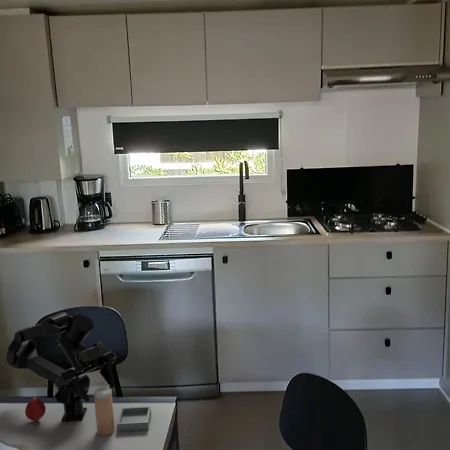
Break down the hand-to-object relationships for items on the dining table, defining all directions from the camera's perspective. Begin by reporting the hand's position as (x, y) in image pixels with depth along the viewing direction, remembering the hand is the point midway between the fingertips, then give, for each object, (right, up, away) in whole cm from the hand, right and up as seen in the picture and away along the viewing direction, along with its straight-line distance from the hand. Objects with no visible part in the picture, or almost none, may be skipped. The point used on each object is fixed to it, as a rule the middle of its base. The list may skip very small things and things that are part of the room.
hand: (101, 394), depth 148 cm
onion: (-22, -11, +8) cm, 26 cm away
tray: (+9, -10, +5) cm, 15 cm away
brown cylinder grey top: (+1, -11, +2) cm, 11 cm away
